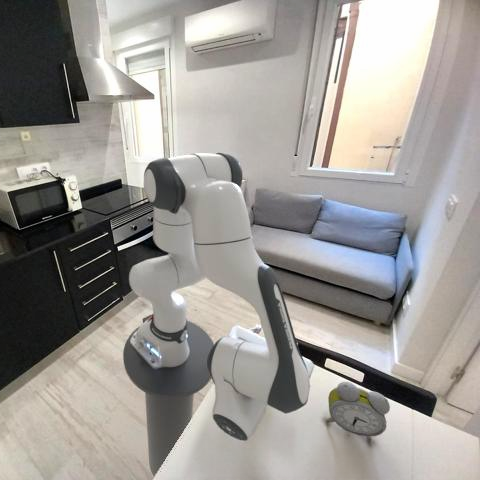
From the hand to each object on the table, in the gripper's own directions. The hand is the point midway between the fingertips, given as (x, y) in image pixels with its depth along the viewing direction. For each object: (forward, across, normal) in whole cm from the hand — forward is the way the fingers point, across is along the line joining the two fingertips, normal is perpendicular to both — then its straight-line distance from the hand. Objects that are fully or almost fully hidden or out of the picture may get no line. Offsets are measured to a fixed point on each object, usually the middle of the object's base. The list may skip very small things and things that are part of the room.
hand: (276, 334), depth 70 cm
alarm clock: (+4, -22, +23) cm, 32 cm away
